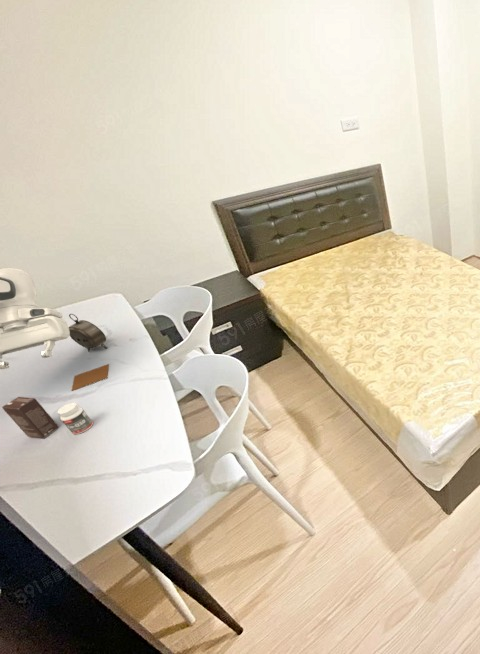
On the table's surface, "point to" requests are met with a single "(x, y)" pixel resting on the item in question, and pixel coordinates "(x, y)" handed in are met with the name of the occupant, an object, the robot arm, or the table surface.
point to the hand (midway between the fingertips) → (25, 362)
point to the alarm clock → (86, 334)
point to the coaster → (90, 377)
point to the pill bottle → (75, 418)
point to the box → (30, 417)
